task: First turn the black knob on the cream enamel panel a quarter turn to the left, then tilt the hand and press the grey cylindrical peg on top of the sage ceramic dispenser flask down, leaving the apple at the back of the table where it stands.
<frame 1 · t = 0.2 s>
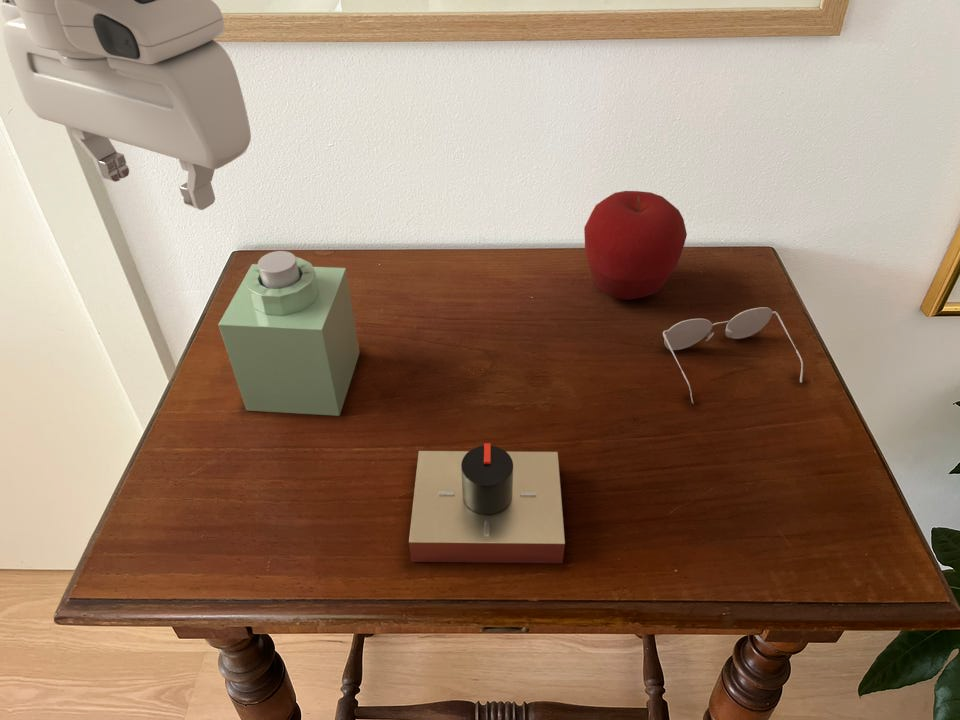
hand: (157, 190, 57), 26 cm above the table, tool pointing down, fingers open, 8 cm apart
sunglasses: (728, 368, 80), on the table
grey cylindrical peg: (279, 270, 69), point 15 cm above the table, slide at 0.1 cm
apple: (625, 292, 91), on the table
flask: (305, 380, 79), on the table
knob: (487, 478, 62), point 5 cm above the table, hinge at 0.0°
panel: (487, 514, 66), on the table
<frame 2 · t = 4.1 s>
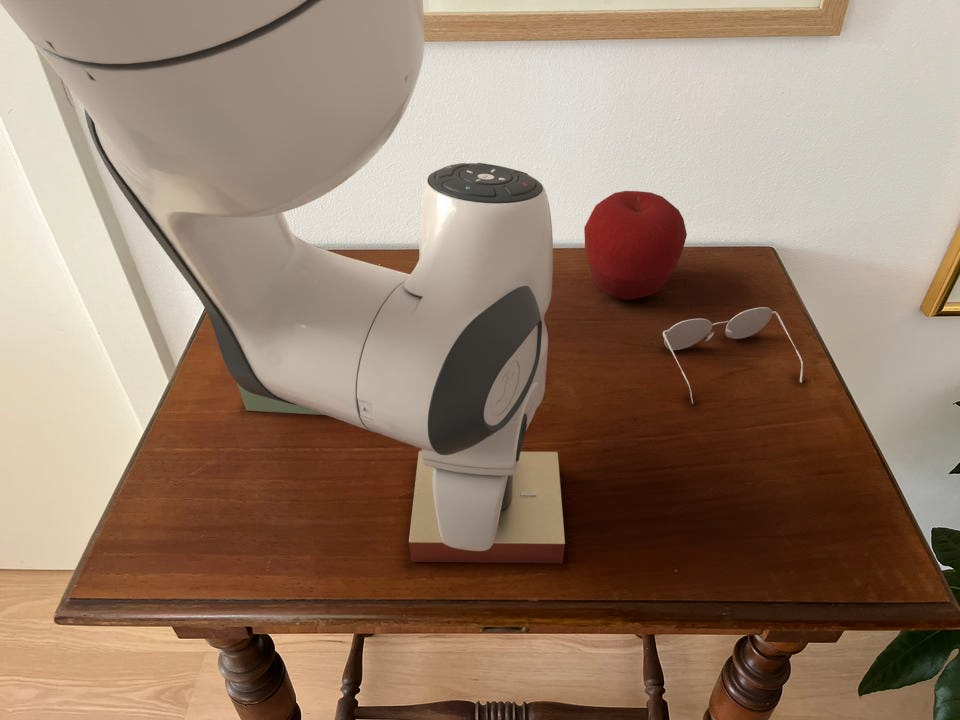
hand: (487, 486, 63), 4 cm above the table, tool pointing down, fingers closed on knob, 4 cm apart
knob: (487, 478, 62), point 5 cm above the table, hinge at 0.0°, touching gripper
everything else where it was.
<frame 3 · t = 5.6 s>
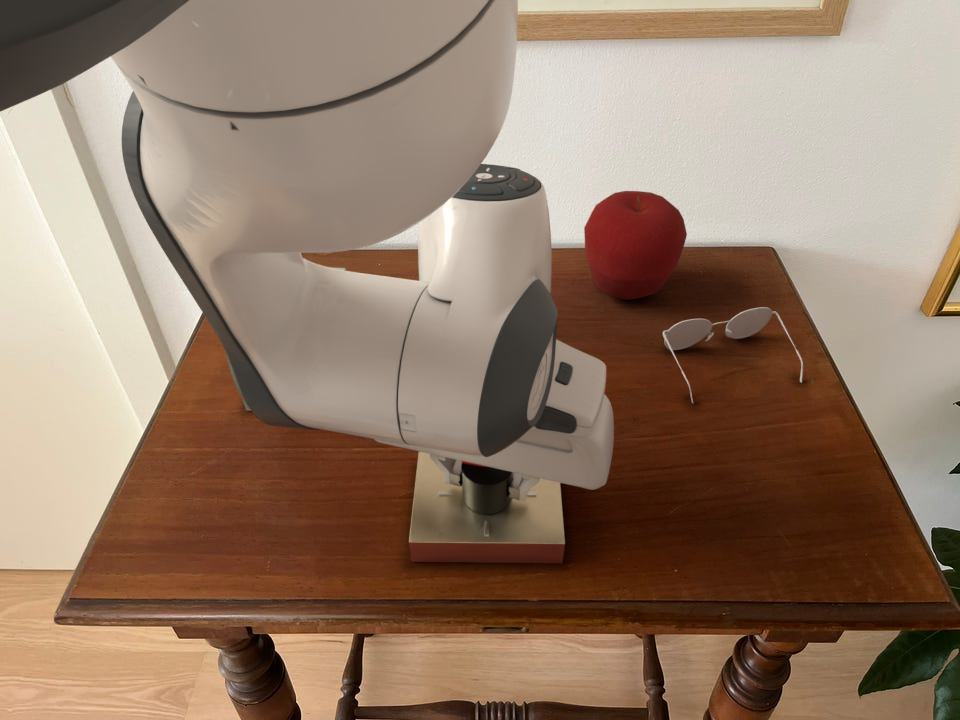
hand: (487, 486, 63), 4 cm above the table, tool pointing down, fingers closed on knob, 4 cm apart
knob: (487, 478, 62), point 5 cm above the table, hinge at 79.0°, touching gripper
everything else where it was.
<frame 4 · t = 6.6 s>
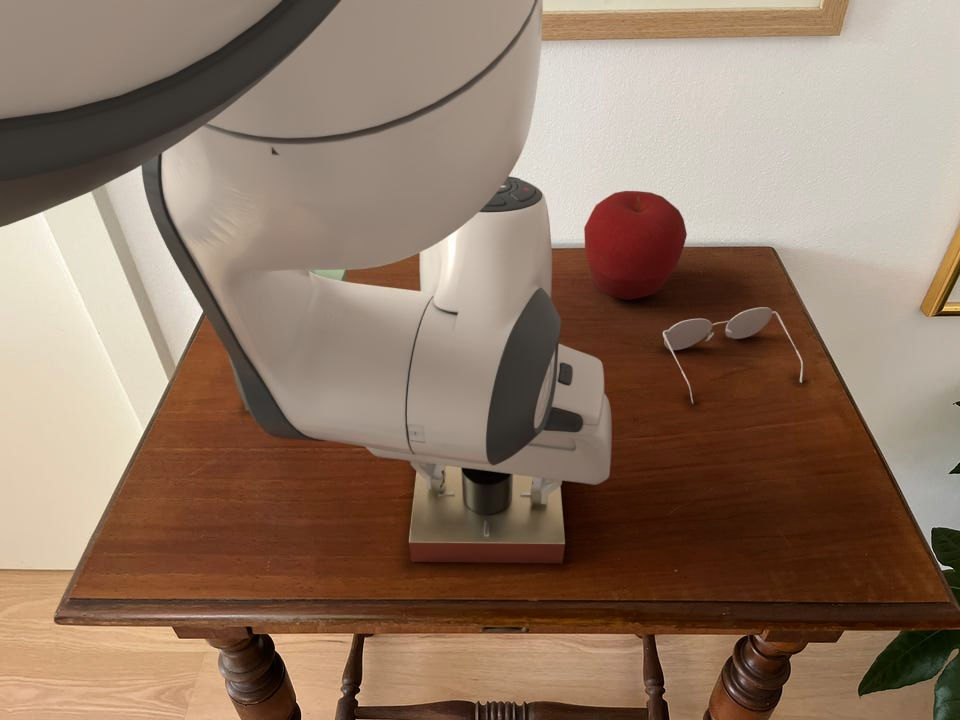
hand: (487, 490, 64), 3 cm above the table, tool pointing down, fingers open, 8 cm apart
knob: (487, 478, 62), point 5 cm above the table, hinge at 85.9°
everything else where it was.
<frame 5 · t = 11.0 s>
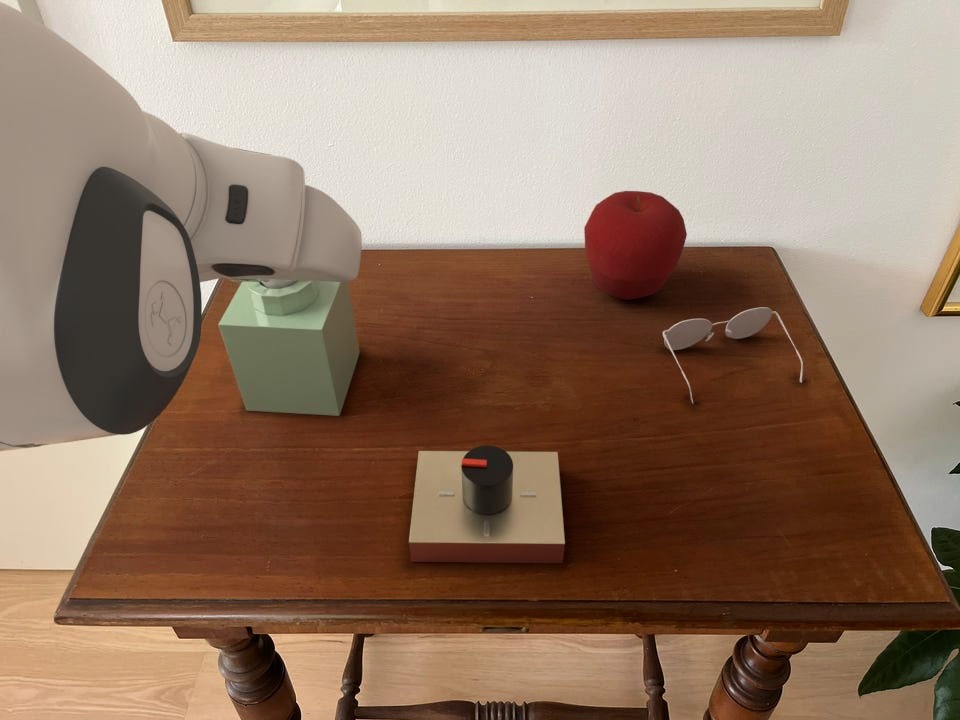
hand: (252, 271, 55), 23 cm above the table, tool tilted 40°, fingers closed
nothing on the table moved.
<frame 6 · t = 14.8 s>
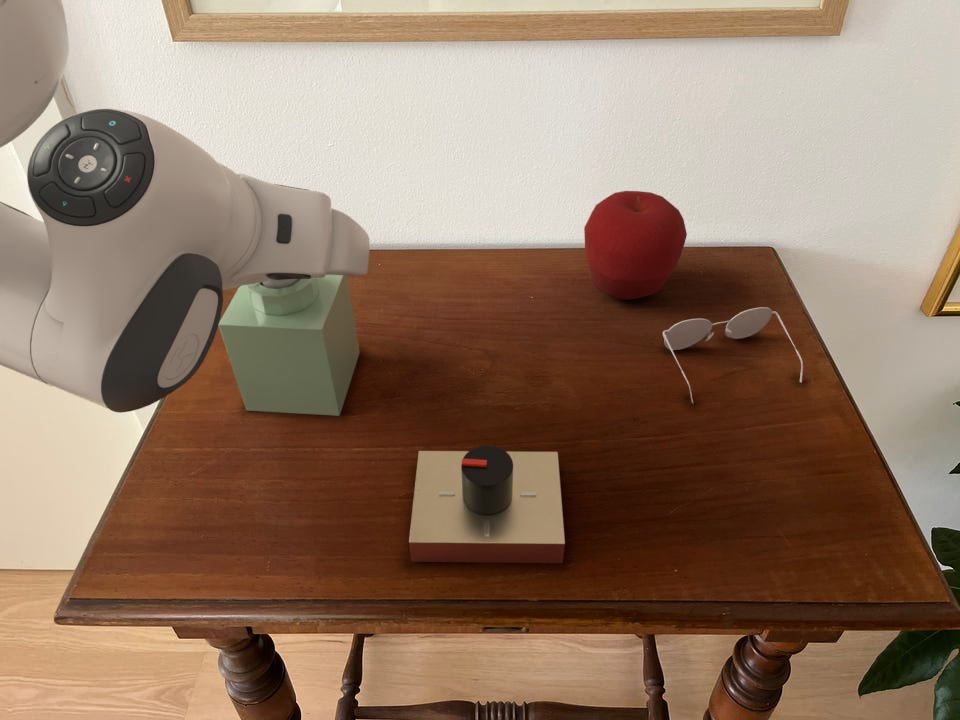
hand: (278, 262, 69), 16 cm above the table, tool tilted 45°, fingers closed, pressing on grey cylindrical peg
grey cylindrical peg: (280, 276, 70), point 14 cm above the table, slide at -0.7 cm, touching gripper
everything else where it was.
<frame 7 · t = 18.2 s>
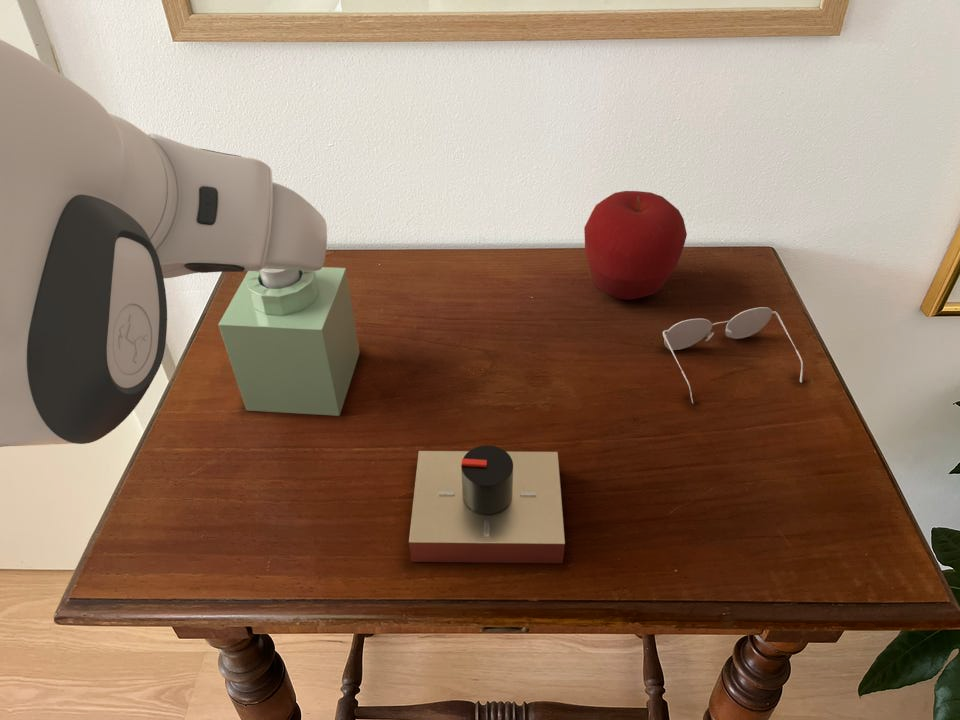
hand: (219, 254, 56), 23 cm above the table, tool tilted 45°, fingers closed
grey cylindrical peg: (279, 270, 69), point 15 cm above the table, slide at 0.1 cm
everything else where it was.
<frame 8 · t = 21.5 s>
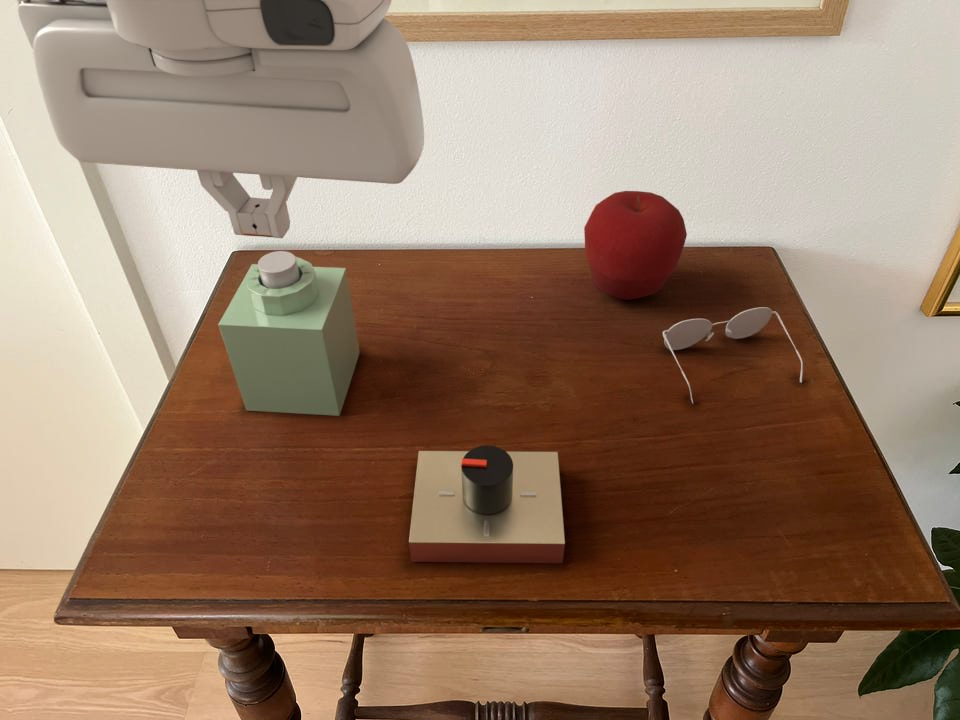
hand: (263, 231, 44), 31 cm above the table, tool pointing down, fingers closed
nothing on the table moved.
at the end: knob at +86° (first picture: +0°); grey cylindrical peg pushed in 1.6 cm at the most during the clip, back to where it started at the end; apple moved 0.2 cm from its start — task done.
